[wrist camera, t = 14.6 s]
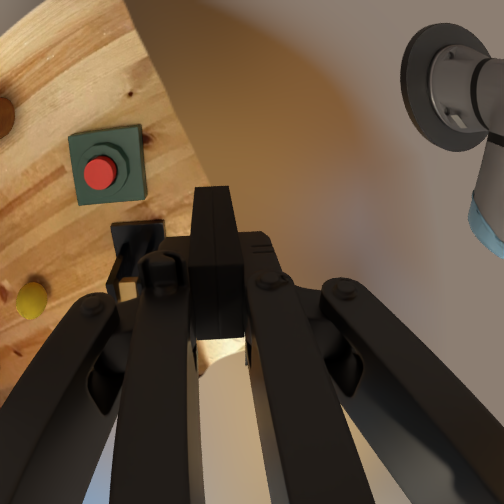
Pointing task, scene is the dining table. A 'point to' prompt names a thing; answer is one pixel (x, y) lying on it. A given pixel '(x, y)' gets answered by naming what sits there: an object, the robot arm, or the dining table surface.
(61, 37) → the dining table surface
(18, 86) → the dining table surface
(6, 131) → the disposable coffee cup
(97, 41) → the dining table surface
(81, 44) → the dining table surface
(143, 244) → the switch bracket
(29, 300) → the lemon
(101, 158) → the button
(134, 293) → the switch lever
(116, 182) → the button housing
